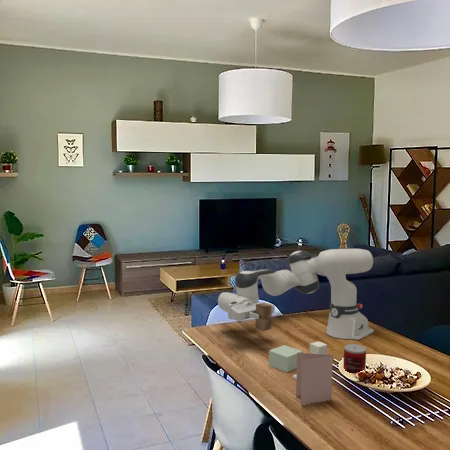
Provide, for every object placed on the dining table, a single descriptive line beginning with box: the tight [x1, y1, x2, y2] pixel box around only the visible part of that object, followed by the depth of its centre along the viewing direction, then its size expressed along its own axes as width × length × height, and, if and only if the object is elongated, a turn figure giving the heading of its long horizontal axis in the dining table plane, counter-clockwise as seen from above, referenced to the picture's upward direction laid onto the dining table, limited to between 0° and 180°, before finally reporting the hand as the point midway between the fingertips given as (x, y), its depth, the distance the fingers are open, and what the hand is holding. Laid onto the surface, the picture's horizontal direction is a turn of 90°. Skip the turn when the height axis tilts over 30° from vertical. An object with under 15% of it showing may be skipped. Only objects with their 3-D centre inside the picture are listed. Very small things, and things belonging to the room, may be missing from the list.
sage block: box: [268, 344, 304, 373], centre depth 191 cm, size 9×9×6 cm
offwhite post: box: [309, 341, 328, 355], centre depth 186 cm, size 4×4×10 cm
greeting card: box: [295, 352, 334, 406], centre depth 161 cm, size 11×7×15 cm, turn 77°
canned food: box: [343, 343, 367, 373], centre depth 180 cm, size 8×8×11 cm
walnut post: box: [255, 302, 272, 332], centre depth 206 cm, size 4×4×10 cm
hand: (264, 315), depth 205 cm, fingers closed on walnut post, 4 cm apart
